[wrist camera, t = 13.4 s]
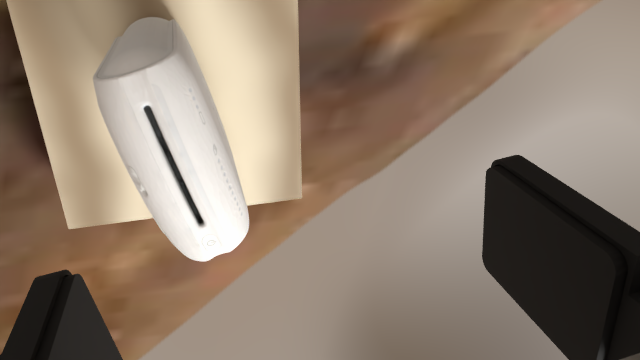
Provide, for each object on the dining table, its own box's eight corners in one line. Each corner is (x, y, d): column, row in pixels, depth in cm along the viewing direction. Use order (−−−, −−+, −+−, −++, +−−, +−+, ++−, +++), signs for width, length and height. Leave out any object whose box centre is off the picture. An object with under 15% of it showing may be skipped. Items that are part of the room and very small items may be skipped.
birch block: (277, -39, 34) (296, -37, 28) (285, 166, 40) (301, 198, 35) (27, -37, 30) (-4, -35, 24) (83, 189, 37) (68, 229, 31)
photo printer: (237, 157, 32) (268, 259, 22) (177, 179, 32) (179, 294, 21) (178, 6, 27) (181, 41, 17) (106, 28, 27) (61, 80, 16)
